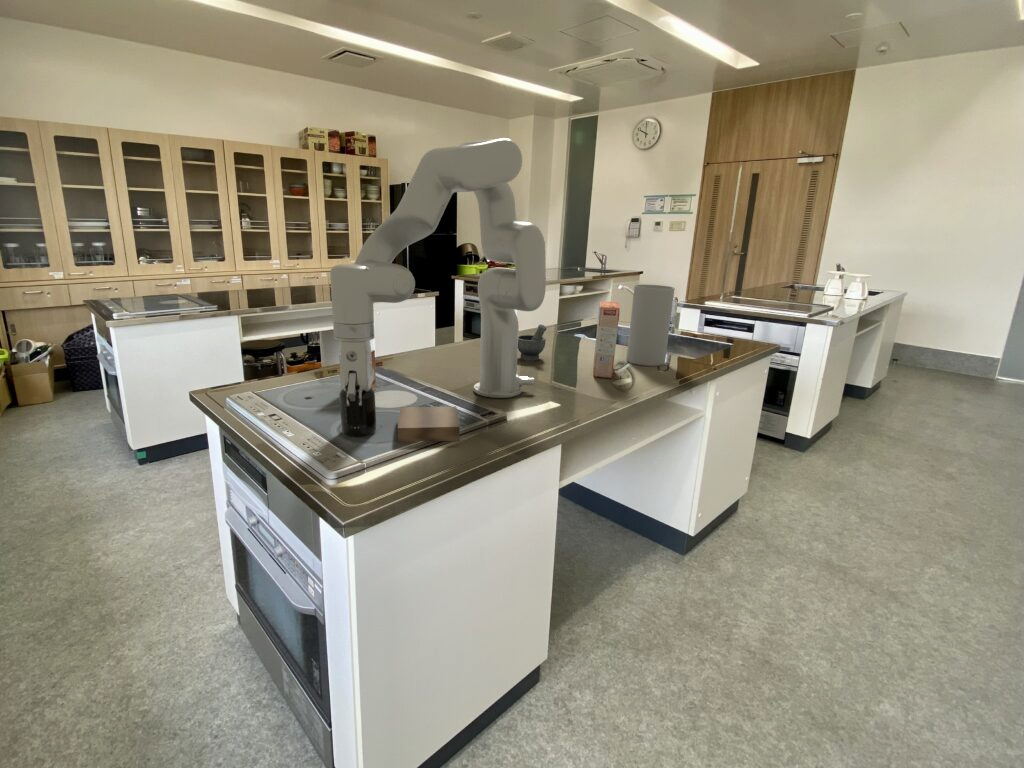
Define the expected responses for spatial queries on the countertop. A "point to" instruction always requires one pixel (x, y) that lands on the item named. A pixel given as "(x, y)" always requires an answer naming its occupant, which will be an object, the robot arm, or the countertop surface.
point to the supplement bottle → (369, 414)
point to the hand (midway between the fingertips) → (358, 416)
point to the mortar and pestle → (532, 344)
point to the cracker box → (606, 339)
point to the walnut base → (428, 424)
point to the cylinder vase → (650, 324)
